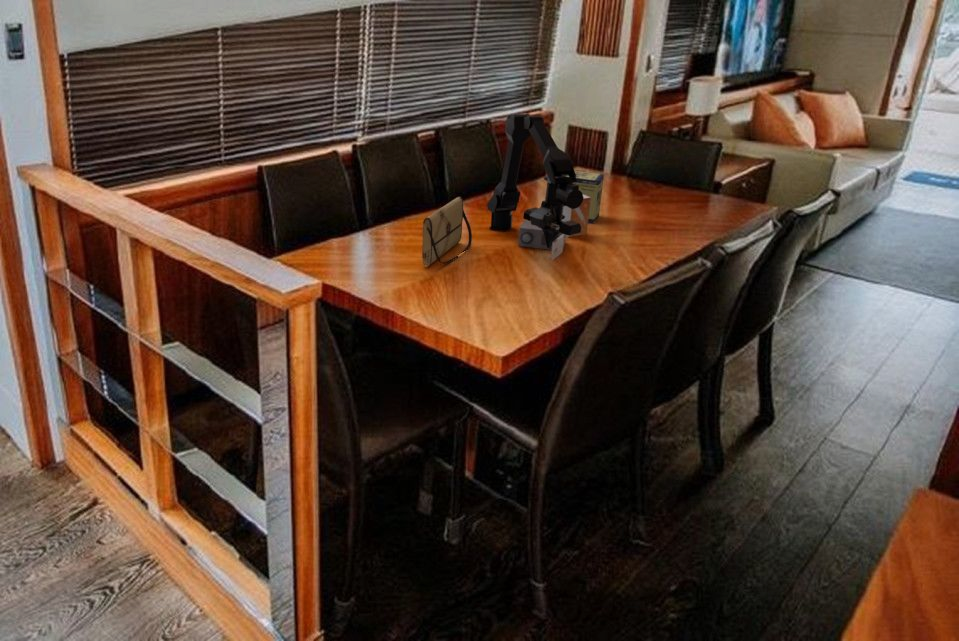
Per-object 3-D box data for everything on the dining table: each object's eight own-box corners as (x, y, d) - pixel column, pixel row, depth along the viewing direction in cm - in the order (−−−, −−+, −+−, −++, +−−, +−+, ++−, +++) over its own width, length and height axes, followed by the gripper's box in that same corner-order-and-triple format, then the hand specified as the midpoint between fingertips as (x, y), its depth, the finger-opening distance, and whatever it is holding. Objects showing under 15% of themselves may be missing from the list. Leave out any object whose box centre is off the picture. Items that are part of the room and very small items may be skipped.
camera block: (517, 247, 250) (518, 227, 247) (522, 237, 259) (524, 218, 257) (561, 252, 247) (563, 232, 245) (565, 242, 257) (567, 222, 254)
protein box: (594, 223, 278) (599, 180, 272) (551, 217, 283) (555, 174, 277) (599, 216, 288) (604, 174, 281) (558, 210, 292) (562, 168, 286)
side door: (553, 260, 240) (555, 242, 238) (550, 259, 241) (552, 242, 238) (563, 251, 248) (565, 234, 246) (560, 250, 249) (562, 234, 247)
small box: (568, 238, 262) (572, 199, 256) (556, 232, 266) (560, 194, 261) (587, 234, 266) (591, 197, 261) (575, 229, 271) (579, 192, 265)
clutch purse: (442, 272, 226) (443, 221, 220) (419, 268, 228) (420, 218, 222) (476, 243, 252) (478, 197, 246) (455, 240, 254) (457, 194, 248)
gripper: (513, 194, 236) (508, 243, 243) (561, 211, 224) (554, 262, 231) (538, 189, 243) (532, 237, 250) (585, 205, 232) (578, 255, 238)
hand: (548, 247), depth 242 cm, fingers closed
